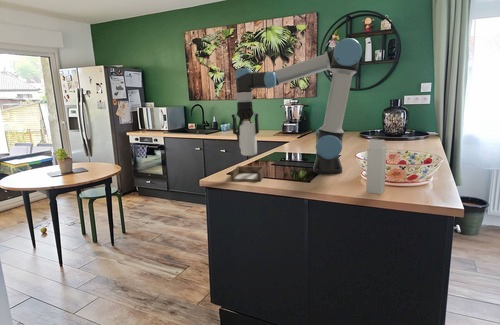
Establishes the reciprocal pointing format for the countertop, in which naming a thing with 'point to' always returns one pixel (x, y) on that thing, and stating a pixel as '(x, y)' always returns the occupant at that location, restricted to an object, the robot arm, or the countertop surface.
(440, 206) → the countertop surface
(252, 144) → the white bottle
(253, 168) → the brown tray
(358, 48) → the robot arm
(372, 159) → the milk
